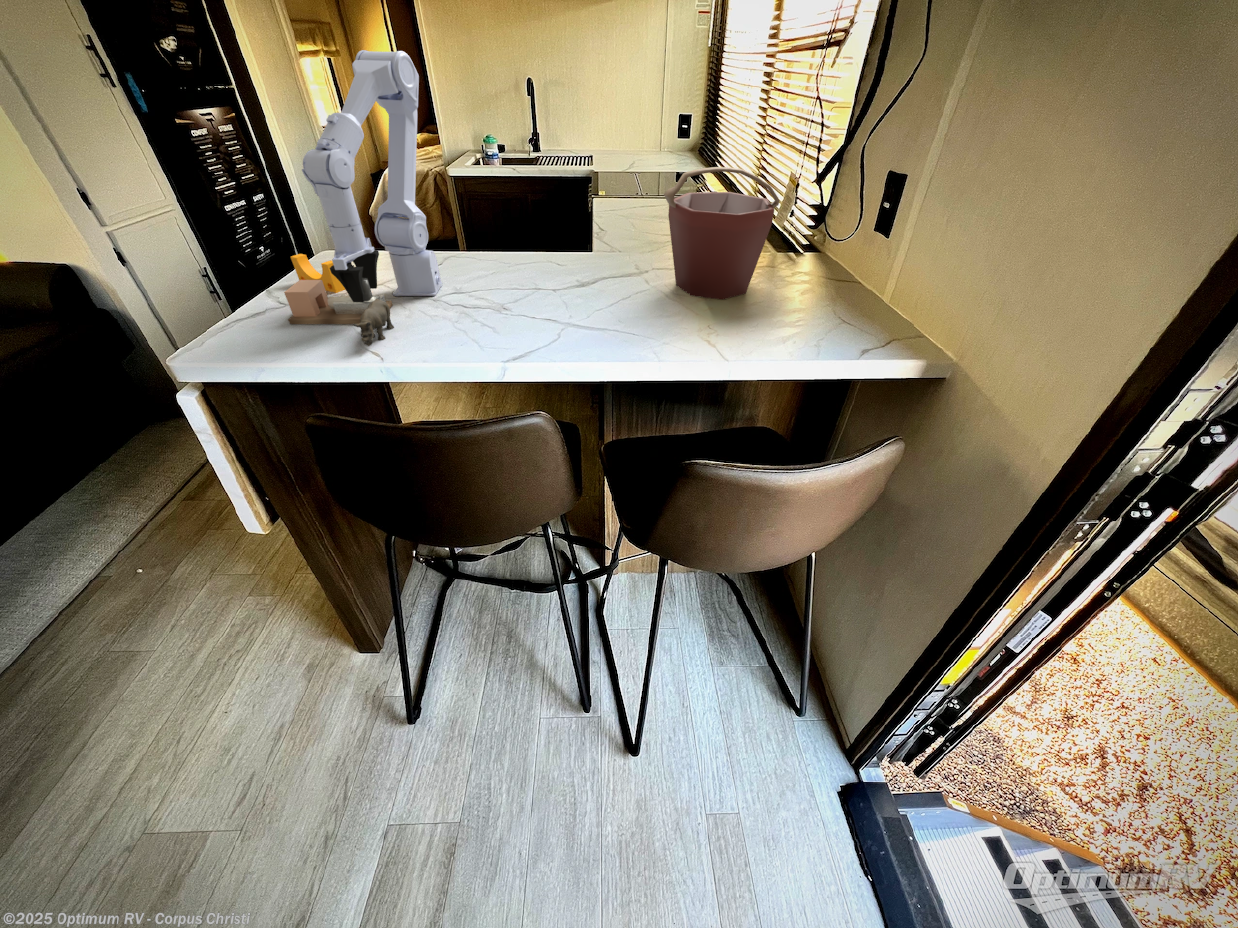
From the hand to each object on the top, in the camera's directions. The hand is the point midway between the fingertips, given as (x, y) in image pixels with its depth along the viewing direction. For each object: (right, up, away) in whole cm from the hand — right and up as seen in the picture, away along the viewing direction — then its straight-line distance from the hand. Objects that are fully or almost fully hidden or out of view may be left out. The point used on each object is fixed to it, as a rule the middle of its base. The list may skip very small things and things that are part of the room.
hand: (365, 294), depth 105 cm
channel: (-2, -2, +2) cm, 4 cm away
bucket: (+75, +8, +19) cm, 77 cm away
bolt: (-3, -2, +2) cm, 4 cm away
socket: (-12, -3, +2) cm, 12 cm away
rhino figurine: (+5, -11, -6) cm, 13 cm away
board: (-7, -3, +2) cm, 8 cm away
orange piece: (-17, +7, +16) cm, 24 cm away
